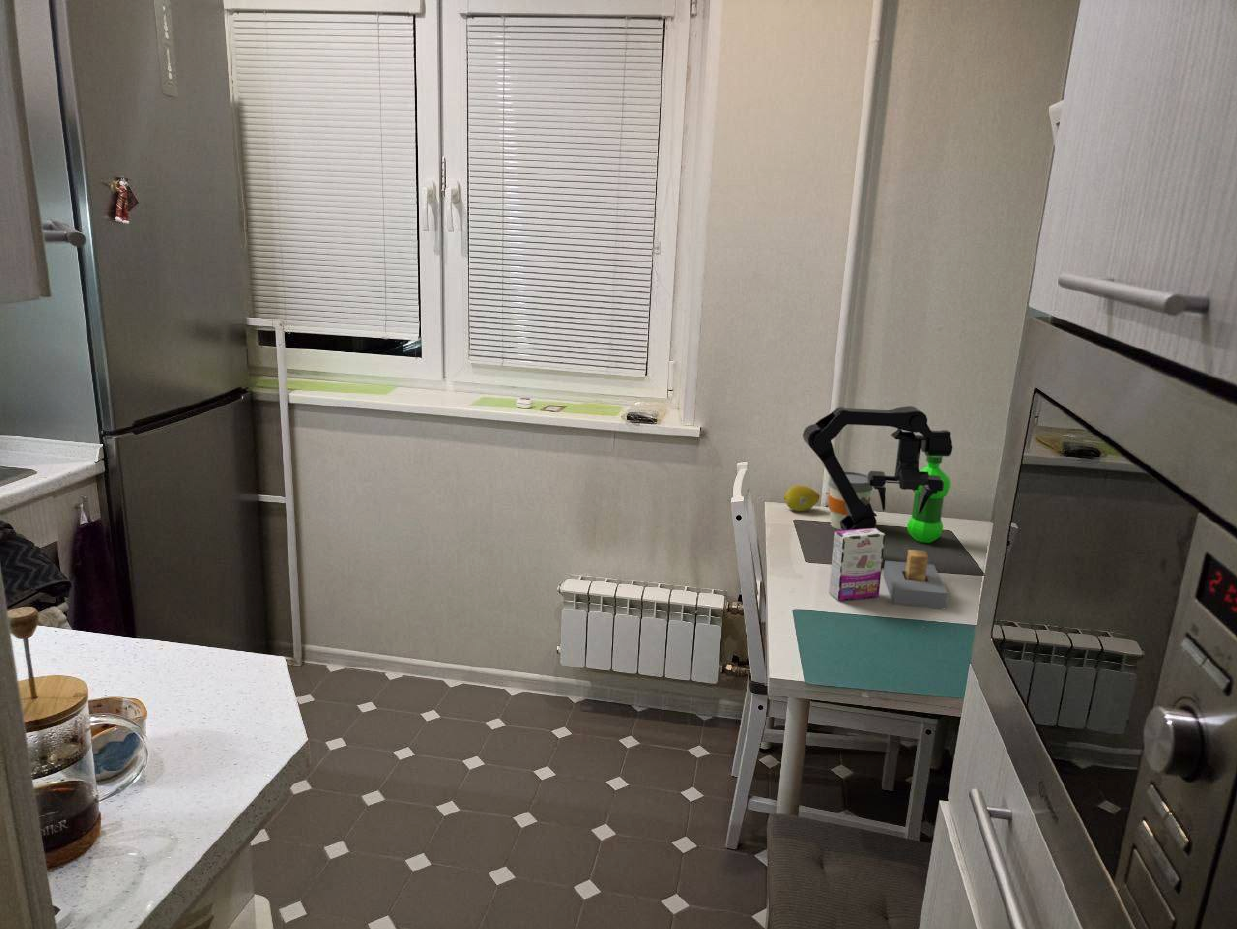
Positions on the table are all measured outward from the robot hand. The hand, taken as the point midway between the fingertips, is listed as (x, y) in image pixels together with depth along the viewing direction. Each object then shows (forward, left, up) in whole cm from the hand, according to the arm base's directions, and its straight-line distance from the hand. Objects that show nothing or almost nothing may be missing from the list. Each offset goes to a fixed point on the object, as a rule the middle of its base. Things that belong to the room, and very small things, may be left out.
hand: (901, 511), depth 241 cm
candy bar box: (-14, -29, -13) cm, 35 cm away
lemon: (-24, +34, -13) cm, 44 cm away
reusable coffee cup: (-11, +23, -13) cm, 29 cm away
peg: (+1, -23, -13) cm, 26 cm away
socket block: (+1, -23, -13) cm, 26 cm away
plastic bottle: (+10, +16, -13) cm, 23 cm away
